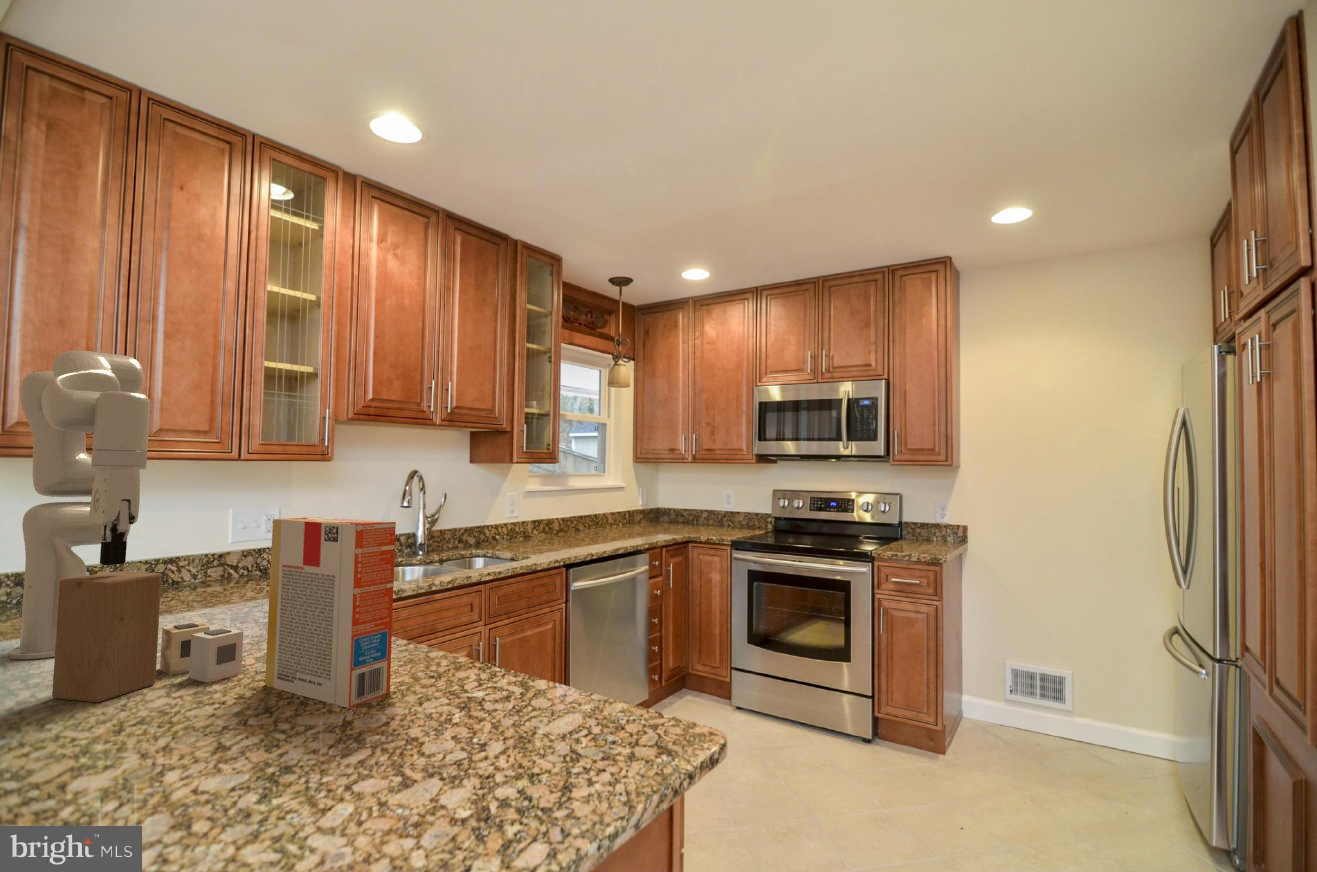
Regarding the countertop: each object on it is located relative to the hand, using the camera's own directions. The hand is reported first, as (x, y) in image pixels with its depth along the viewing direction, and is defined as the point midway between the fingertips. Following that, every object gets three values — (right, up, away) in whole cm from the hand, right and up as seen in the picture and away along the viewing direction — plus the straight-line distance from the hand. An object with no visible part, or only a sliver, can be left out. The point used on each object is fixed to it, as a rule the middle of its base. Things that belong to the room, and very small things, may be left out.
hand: (112, 563), depth 112 cm
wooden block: (0, -22, -2) cm, 22 cm away
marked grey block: (+13, -23, +7) cm, 27 cm away
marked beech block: (+4, -23, +12) cm, 26 cm away
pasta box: (+38, -23, +1) cm, 44 cm away
